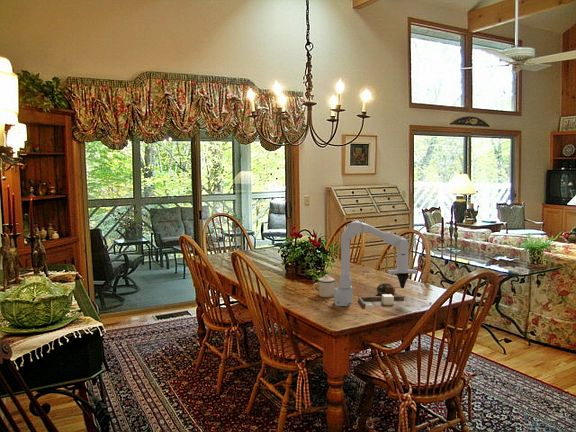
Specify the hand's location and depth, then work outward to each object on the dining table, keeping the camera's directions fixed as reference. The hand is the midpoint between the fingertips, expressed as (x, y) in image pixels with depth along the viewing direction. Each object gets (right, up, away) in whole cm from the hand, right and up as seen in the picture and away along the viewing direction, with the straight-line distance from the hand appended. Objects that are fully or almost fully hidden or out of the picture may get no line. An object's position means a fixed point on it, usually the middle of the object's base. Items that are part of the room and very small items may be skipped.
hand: (402, 287), depth 247 cm
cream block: (-7, -8, +1) cm, 11 cm away
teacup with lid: (-39, -8, +22) cm, 45 cm away
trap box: (-8, -10, 0) cm, 13 cm away
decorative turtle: (-5, -8, +17) cm, 19 cm away
